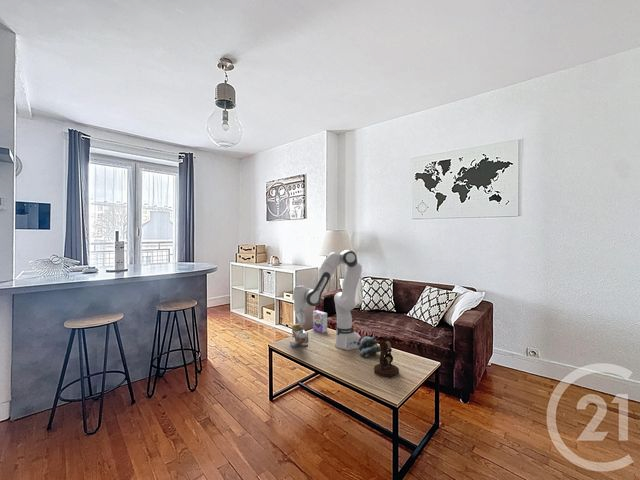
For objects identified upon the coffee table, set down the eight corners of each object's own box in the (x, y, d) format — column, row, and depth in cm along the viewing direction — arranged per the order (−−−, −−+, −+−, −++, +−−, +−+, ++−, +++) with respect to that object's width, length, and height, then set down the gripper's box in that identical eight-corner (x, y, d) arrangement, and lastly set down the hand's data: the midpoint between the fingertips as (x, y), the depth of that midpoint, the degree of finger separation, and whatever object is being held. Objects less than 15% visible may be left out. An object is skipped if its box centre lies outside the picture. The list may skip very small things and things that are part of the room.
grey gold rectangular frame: (305, 340, 234) (304, 323, 234) (311, 353, 210) (311, 333, 210) (289, 342, 232) (289, 324, 231) (294, 354, 207) (294, 334, 207)
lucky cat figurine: (359, 358, 200) (354, 337, 206) (361, 358, 211) (355, 338, 216) (381, 352, 198) (375, 331, 204) (381, 353, 209) (375, 333, 215)
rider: (304, 335, 216) (304, 328, 216) (305, 338, 211) (305, 330, 211) (297, 336, 215) (297, 329, 215) (298, 338, 210) (298, 331, 210)
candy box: (312, 329, 262) (312, 310, 262) (317, 328, 266) (317, 309, 266) (322, 333, 251) (322, 314, 251) (327, 332, 255) (327, 312, 255)
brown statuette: (381, 365, 190) (381, 334, 190) (403, 371, 181) (403, 339, 180) (369, 373, 179) (369, 340, 178) (392, 381, 169) (392, 346, 169)
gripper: (306, 310, 210) (307, 330, 210) (301, 304, 230) (302, 322, 230) (298, 311, 208) (299, 331, 209) (293, 305, 228) (294, 323, 229)
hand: (301, 326), depth 220 cm, fingers closed
